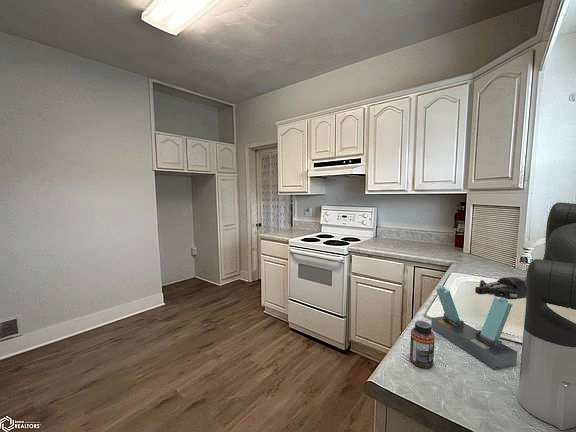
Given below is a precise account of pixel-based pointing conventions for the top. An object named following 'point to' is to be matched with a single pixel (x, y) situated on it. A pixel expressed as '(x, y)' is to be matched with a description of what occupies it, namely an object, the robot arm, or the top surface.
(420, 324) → the supplement bottle
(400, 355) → the top surface
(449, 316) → the outer lever
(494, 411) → the top surface
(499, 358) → the switch box
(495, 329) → the inner lever
